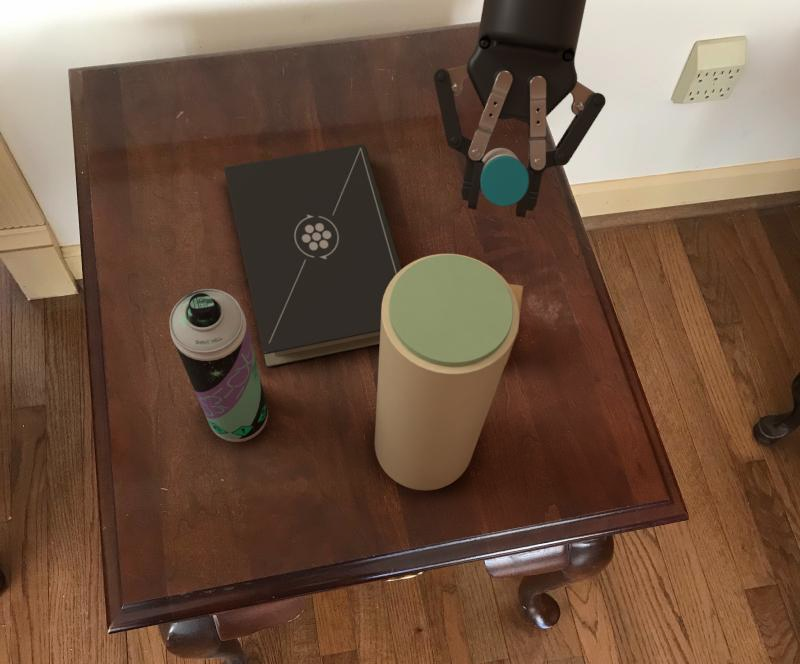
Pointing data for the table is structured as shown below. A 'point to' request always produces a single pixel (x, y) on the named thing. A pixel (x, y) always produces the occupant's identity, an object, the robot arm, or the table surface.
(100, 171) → the table surface
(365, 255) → the book
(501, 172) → the vial
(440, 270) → the pad
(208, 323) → the spray can
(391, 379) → the pedestal
